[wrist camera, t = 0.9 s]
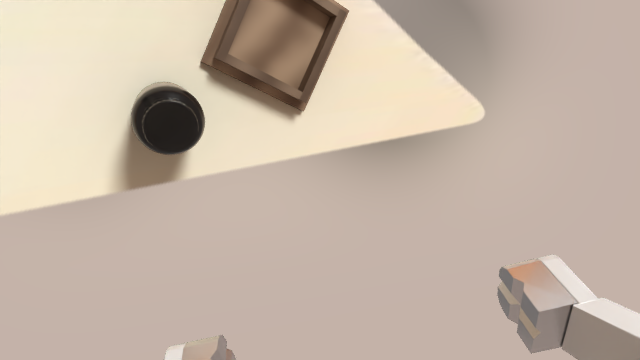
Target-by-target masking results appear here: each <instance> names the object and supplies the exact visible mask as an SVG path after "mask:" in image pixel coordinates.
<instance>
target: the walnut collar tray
mask: <svg viewBox="0 0 640 360" xmlns="http://www.w3.org/2000/svg"><path fill="white" fill-rule="evenodd" d="M348 12H349V10H347V9H346V8H344V7H343V6H341V5H340V4H339V3H337V2H336V1H334V0H226V2H225V4H224V7H223V9H222V11H221V14H220V16H219V19H218V21H217V23H216V26H215V28H214V31H213V33H212V36H211V38H210V40H209V43H208V45H207V48H206V50H205V53H204V55H203V57H202V60H201V62H203V63H205V64H207V65H209V66H211V67H213V68H215V69H217V70H220V71H222V72H224V73H226V74H228V75H230V76H232V77H234V78H236V79H238V80H240V81H242V82H244V83H246V84H248V85H250V86H252V87H254V88H257V89H259V90H261V91H263V92H265V93H267V94H269V95H271V96H273V97H275V98H277V99H279V100H281V101H283V102H285V103H287V104H289V105H291V106H294V107H296V108H298V109H300V110H302V111H304V110H305V108H306V105H307V103H308V101H309V99H310V96H311V94H312V92H313V90H314V88H315V85H316V83H317V81H318V79H319V77H320V74H321V72H322V70H323V68H324V65H325V63H326V61H327V59H328V57H329V54H330V52H331V50H332V48H333V45H334V43H335V41H336V39H337V37H338V34H339V32H340V30H341V28H342V26H343V23H344V21H345V19H346V17H347V14H348Z"/></svg>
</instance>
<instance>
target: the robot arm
mask: <svg viewBox="0 0 640 360" xmlns="http://www.w3.org/2000/svg"><path fill="white" fill-rule="evenodd" d="M499 277H500V278H501V280H502V282H501V284H500V285H499V286H498V298H499V302H500V305H501V307H502V309H503V311H504V313H505V314H506V316H507V318H508V319H510V320H511V321H513V322H515V323H517V324H518V328H517V333H518V334H519V336H520V338H521V339H522V341H523V342H524V344H525V345H526V347H527V348H528V350H529V351H530V353H535V352H540V351H545V350H549V349H554V348H559V347H562V349H563V350H565V351H566V352H568V353H569V354H570V355H572V356H573V357H575V358H576V359H578V360H640V314H639V313H637V312H634V311H632V310H630V309H628V308H626V307H623V306H621V305H619V304H616V303H614V302H612V301H610V300H608V299H606V298H600V299H598V298H597V297H596V296H595V295H594V294H593V293H592V292H591V291H590V290H589V289H588V287H587V286H586V285H585V284H583V282H582V281H581V280H580V279H579V278H578V277H577V276H576V275H575V274H574V273H573V272H572V271H571V270H570V268H569V267H568V266H567V265H566V264H565V263H564V262H563V261H562V260H561V259H560V258H559V257H558V256H556V255H549V256H545V257H541V258H537V259H531V260H527V261H523V262H519V263H515V264H511V265H508V266H504V267H502V268H501V269H500V271H499ZM226 346H227V341H226V339H225V338H224V336H223V335H220V336H215V337H211V338H206V339H201V340H197V341H192V342H187V343H183V344H179V345H175V346H170V347H169V348H168V350H167V351H166V353H165V357H164V360H236V359H235V355H234V354H233V352H232V351H231V350H229V349H227V348H226Z"/></svg>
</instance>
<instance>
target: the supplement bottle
mask: <svg viewBox="0 0 640 360" xmlns="http://www.w3.org/2000/svg"><path fill="white" fill-rule="evenodd" d="M131 123H132V128H133V131H134V133H135V135H136V137H137V138H138V139H139V141H140V142H141V143H142V144H143V145H144V146H146V147H147V148H148V149H150V150H152V151H154V152H157V153H160V154H165V155H175V154H180V153H183V152H185V151H188V150H189V149H191V148H192V147H193V146H195V145H196V144H197V142H198V141H199V140H200V138H201V136H202V134H203V131H204V127H205V117H204V113H203V110H202V107H201V106H200V104H199V102H198V101H197V100H196V98H195V97H194V96H192V95H191V94H190V93H189V92H188V91H186V90H185V89H184V88H182V87H181V86H179V85H176V84H174V83H170V82H157V83H153V84H151V85H149V86H147V87H145V88H144V89H143V90H142V91H141V92H140V93H139V94H138V96H137V98H136V100H135V103H134V106H133V109H132V113H131Z"/></svg>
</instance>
